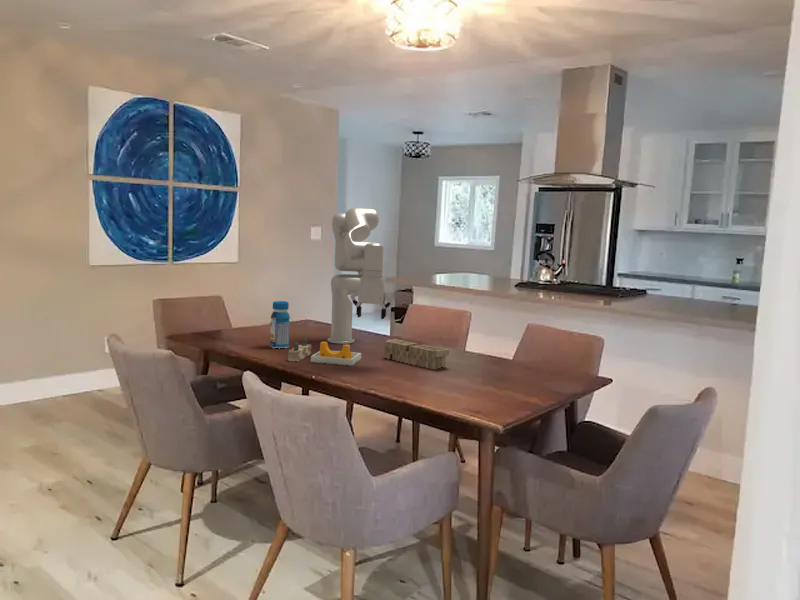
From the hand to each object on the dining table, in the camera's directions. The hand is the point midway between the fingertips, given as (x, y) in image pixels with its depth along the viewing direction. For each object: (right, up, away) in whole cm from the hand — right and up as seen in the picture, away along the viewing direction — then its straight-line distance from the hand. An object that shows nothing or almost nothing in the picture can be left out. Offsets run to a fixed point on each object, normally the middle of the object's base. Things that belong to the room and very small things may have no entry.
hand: (371, 317), depth 253 cm
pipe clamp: (-15, -17, +5) cm, 23 cm away
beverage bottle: (-41, -14, +26) cm, 51 cm away
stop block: (-29, -16, +8) cm, 34 cm away
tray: (-14, -17, +5) cm, 23 cm away
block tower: (+17, -19, +8) cm, 27 cm away
